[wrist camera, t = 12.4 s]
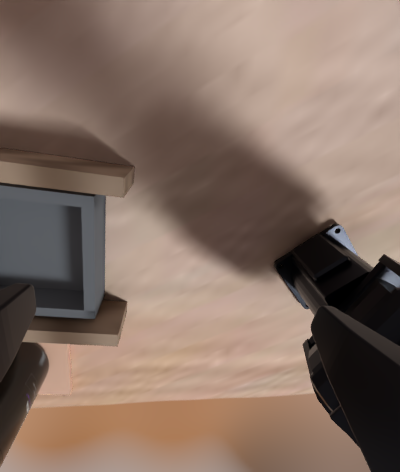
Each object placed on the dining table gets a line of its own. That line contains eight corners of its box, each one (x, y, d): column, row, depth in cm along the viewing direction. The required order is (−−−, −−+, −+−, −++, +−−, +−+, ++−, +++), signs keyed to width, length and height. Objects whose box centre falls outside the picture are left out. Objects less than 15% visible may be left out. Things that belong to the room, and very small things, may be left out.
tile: (68, 316, 24) (65, 321, 23) (72, 389, 28) (70, 395, 27) (-54, 309, 22) (-60, 314, 22) (-31, 387, 26) (-36, 393, 26)
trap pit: (105, 185, 19) (94, 196, 16) (104, 295, 23) (94, 319, 20) (-29, 168, 18) (-66, 177, 15) (-6, 287, 22) (-32, 311, 19)
